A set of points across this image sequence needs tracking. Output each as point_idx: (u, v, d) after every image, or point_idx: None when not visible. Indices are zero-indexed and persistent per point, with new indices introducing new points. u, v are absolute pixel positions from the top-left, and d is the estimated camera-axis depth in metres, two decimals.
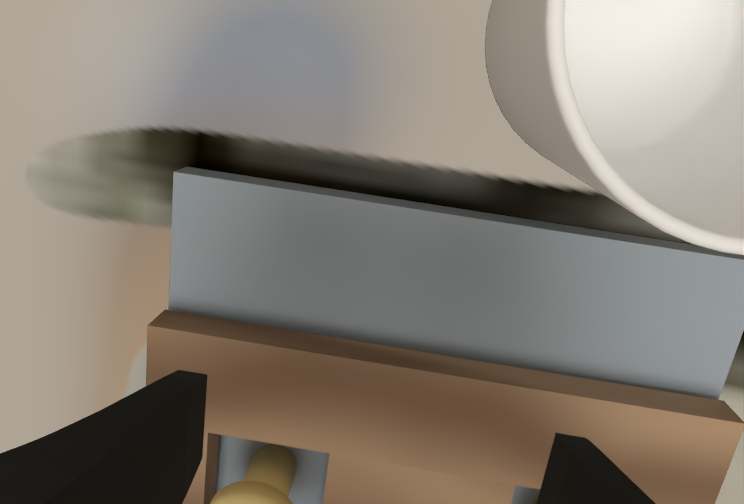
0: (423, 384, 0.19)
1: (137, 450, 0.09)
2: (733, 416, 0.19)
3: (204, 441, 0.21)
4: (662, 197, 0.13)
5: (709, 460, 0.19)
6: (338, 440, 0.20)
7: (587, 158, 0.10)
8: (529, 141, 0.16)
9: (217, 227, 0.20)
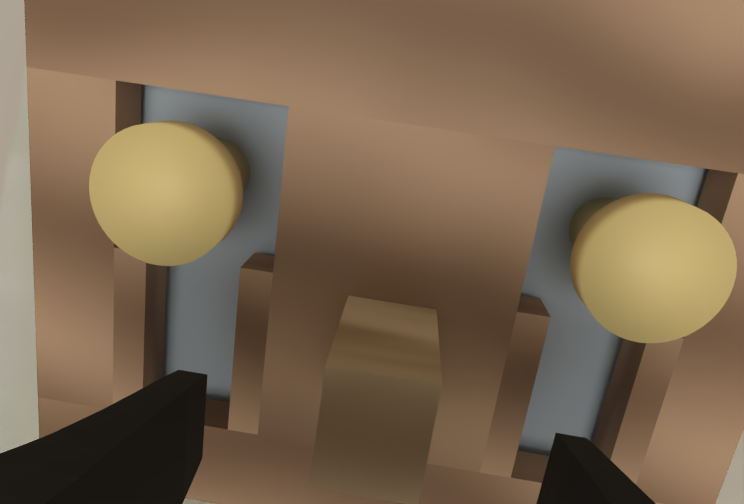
0: None
1: (138, 450, 0.09)
2: None
3: (111, 96, 0.15)
4: None
5: None
6: (300, 83, 0.14)
7: None
8: None
9: None
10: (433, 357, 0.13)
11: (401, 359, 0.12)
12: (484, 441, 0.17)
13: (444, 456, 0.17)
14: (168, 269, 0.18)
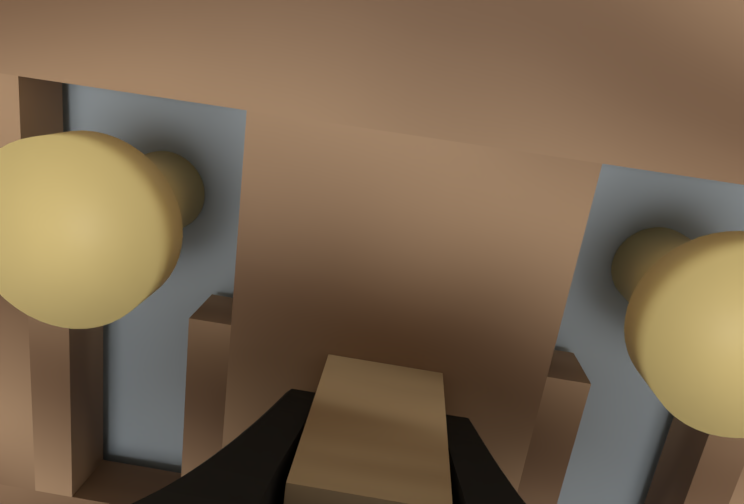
0: None
1: (283, 476, 0.09)
2: None
3: (13, 97, 0.11)
4: None
5: None
6: (262, 79, 0.11)
7: None
8: None
9: None
10: (439, 458, 0.09)
11: (395, 465, 0.09)
12: None
13: None
14: None
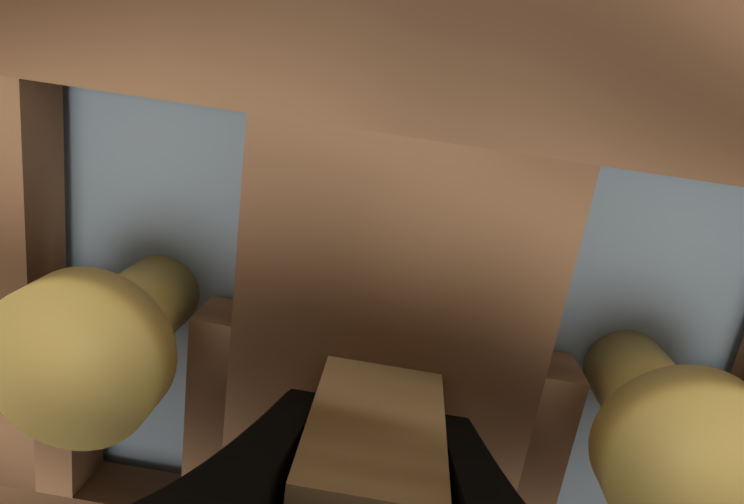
0: None
1: (283, 475, 0.09)
2: None
3: (14, 99, 0.11)
4: None
5: None
6: (262, 82, 0.11)
7: None
8: None
9: None
10: (438, 459, 0.09)
11: (395, 467, 0.09)
12: None
13: None
14: None
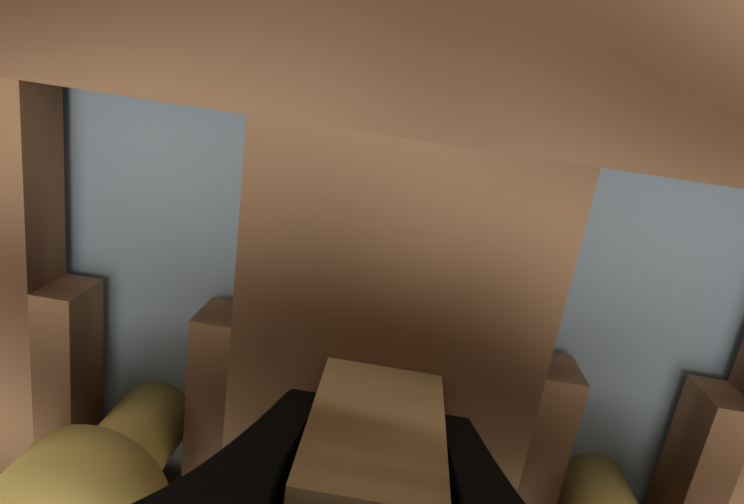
0: None
1: (283, 476, 0.09)
2: None
3: (14, 101, 0.11)
4: None
5: None
6: (261, 83, 0.11)
7: None
8: None
9: None
10: (438, 461, 0.09)
11: (395, 469, 0.09)
12: None
13: None
14: None
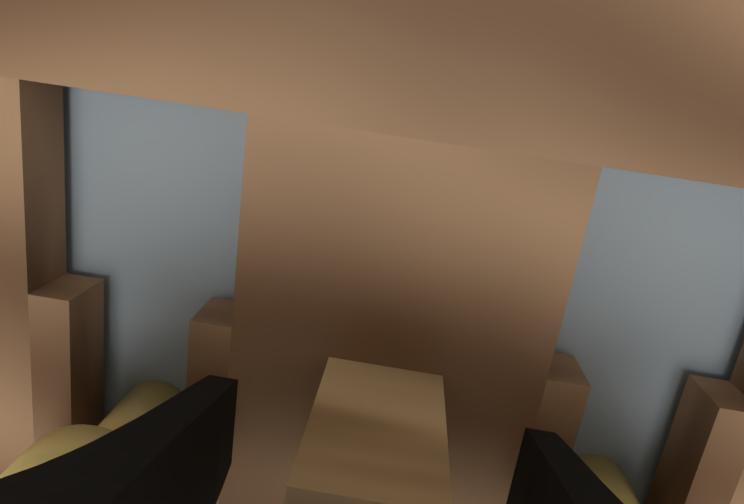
0: None
1: (176, 457, 0.09)
2: None
3: (14, 100, 0.11)
4: None
5: None
6: (262, 83, 0.11)
7: None
8: None
9: None
10: (440, 461, 0.09)
11: (396, 469, 0.09)
12: None
13: None
14: None
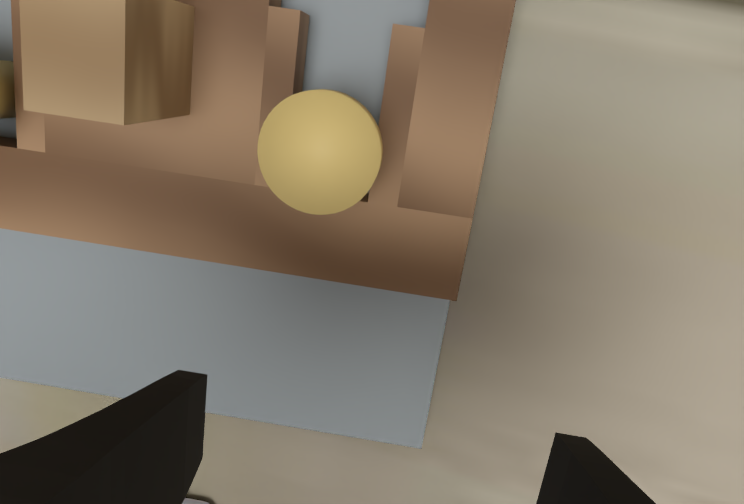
0: None
1: (138, 450, 0.09)
2: None
3: None
4: None
5: None
6: None
7: None
8: None
9: None
10: None
11: None
12: (254, 150, 0.17)
13: (219, 168, 0.18)
14: None
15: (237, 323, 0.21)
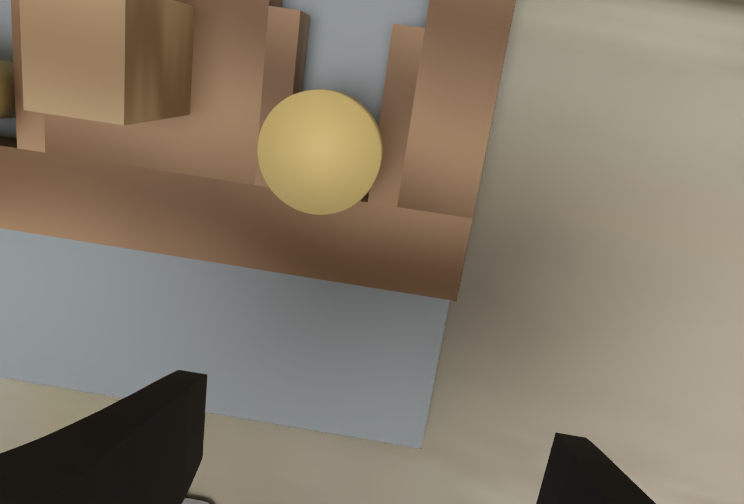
0: None
1: (138, 450, 0.09)
2: None
3: None
4: None
5: None
6: None
7: None
8: None
9: None
10: None
11: None
12: (254, 150, 0.17)
13: (219, 168, 0.18)
14: None
15: (237, 323, 0.21)
